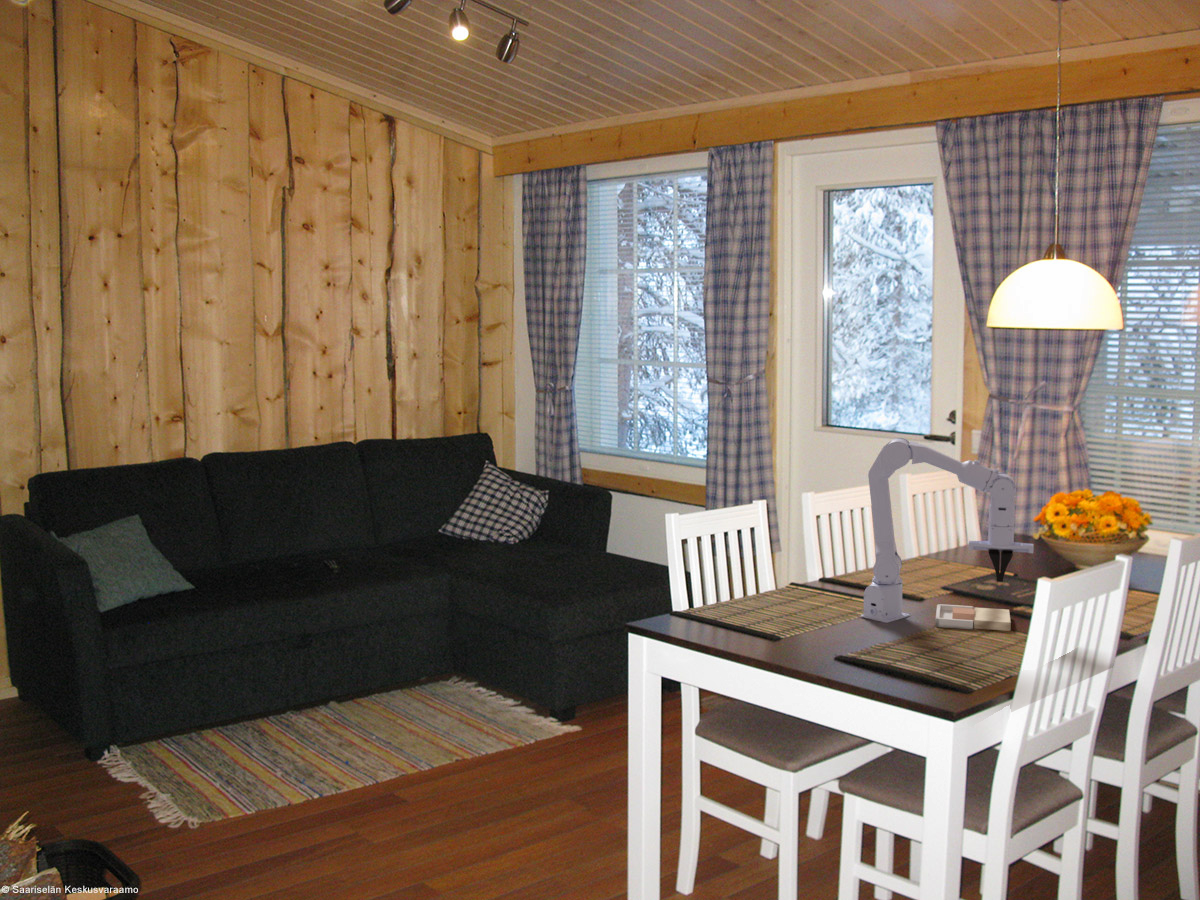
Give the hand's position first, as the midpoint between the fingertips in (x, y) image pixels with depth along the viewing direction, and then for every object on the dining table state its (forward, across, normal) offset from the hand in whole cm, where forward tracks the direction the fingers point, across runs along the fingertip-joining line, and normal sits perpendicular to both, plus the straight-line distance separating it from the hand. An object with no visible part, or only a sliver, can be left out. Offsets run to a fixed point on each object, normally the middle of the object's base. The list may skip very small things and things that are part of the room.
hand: (999, 580), depth 264 cm
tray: (+10, +10, 0) cm, 14 cm away
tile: (+10, +8, 0) cm, 13 cm away
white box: (+10, +2, 0) cm, 11 cm away
